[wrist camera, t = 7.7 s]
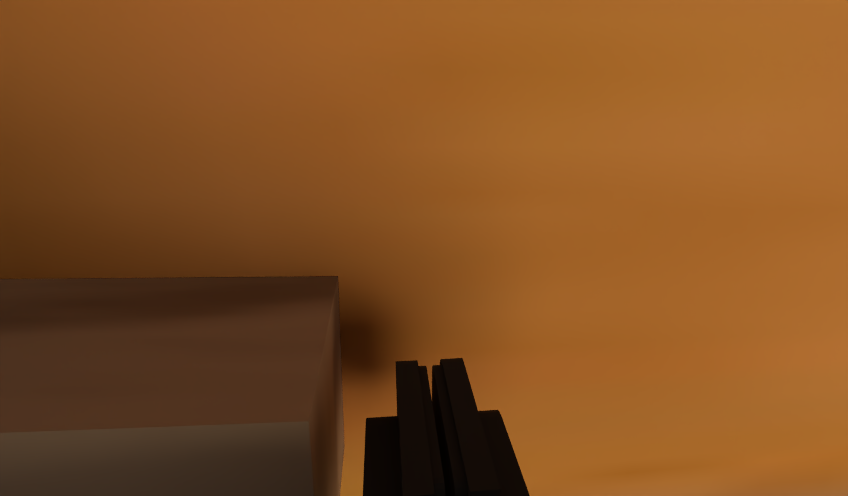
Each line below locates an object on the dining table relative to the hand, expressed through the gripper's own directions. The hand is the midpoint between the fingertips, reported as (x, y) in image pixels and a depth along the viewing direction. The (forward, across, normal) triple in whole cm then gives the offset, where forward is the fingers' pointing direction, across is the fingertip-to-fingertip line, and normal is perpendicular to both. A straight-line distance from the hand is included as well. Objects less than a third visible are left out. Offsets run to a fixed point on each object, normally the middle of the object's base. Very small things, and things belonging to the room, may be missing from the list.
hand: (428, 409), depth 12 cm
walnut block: (+3, +7, 0) cm, 7 cm away
